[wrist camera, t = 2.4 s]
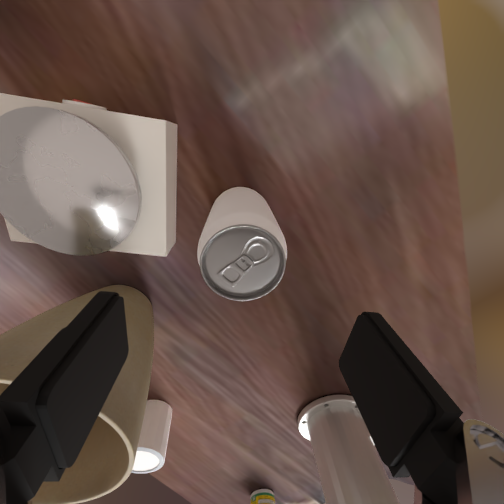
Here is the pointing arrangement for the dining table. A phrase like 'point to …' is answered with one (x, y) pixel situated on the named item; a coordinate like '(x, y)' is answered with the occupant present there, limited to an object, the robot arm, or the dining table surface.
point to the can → (241, 246)
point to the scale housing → (142, 159)
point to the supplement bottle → (262, 497)
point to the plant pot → (115, 407)
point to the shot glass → (153, 437)
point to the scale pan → (65, 182)
